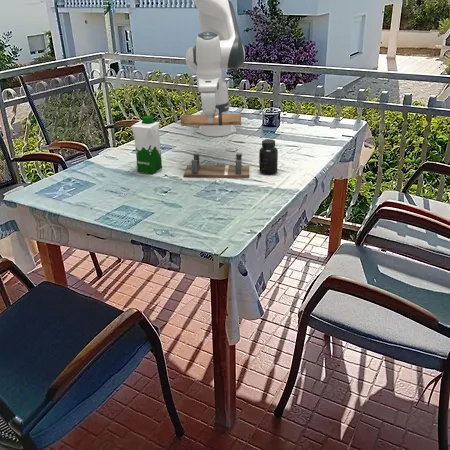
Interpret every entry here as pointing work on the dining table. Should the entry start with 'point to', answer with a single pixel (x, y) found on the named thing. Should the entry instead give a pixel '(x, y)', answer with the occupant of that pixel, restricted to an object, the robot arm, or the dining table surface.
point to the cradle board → (217, 171)
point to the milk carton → (147, 145)
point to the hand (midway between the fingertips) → (211, 120)
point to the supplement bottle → (268, 157)
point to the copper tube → (217, 120)
